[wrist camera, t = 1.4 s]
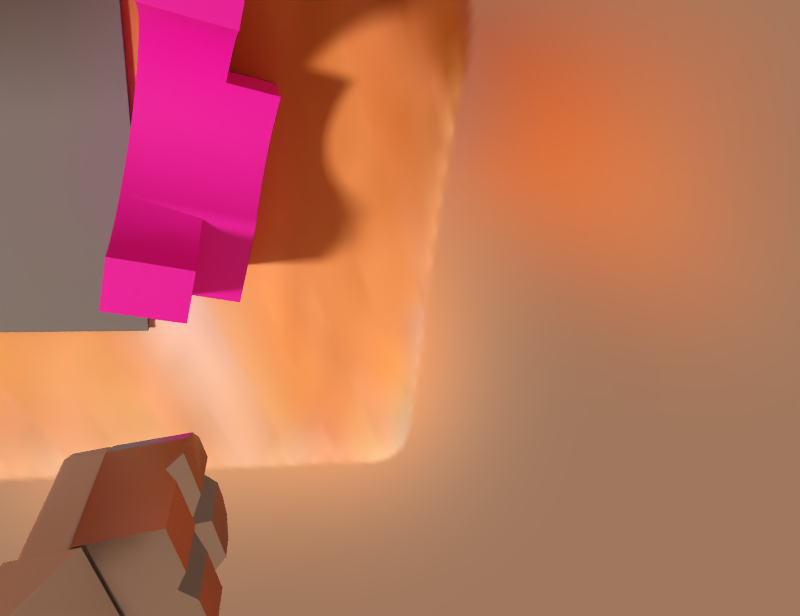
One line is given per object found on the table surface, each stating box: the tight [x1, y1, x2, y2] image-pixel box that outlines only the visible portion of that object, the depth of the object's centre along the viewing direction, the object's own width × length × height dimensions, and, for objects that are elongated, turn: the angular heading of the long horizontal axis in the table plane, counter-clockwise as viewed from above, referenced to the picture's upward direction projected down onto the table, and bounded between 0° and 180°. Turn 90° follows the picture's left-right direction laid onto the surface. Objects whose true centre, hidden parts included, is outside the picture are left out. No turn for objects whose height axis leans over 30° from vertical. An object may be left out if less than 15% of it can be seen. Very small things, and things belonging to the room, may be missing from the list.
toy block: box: [99, 0, 281, 323], centre depth 31 cm, size 15×6×8 cm, turn 163°
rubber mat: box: [0, 0, 149, 332], centre depth 32 cm, size 10×24×1 cm, turn 175°
